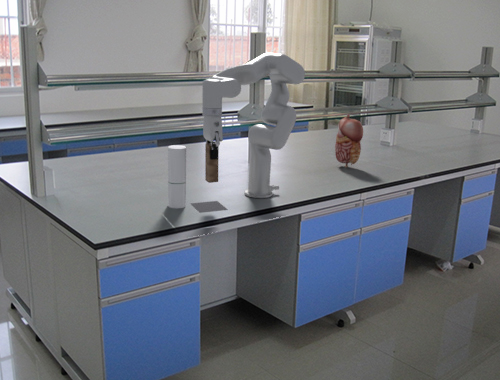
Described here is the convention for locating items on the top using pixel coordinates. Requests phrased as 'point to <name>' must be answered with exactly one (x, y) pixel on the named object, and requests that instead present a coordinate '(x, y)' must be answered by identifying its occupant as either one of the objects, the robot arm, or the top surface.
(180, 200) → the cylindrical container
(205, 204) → the mat
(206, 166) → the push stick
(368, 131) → the top surface
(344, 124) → the anatomical model
